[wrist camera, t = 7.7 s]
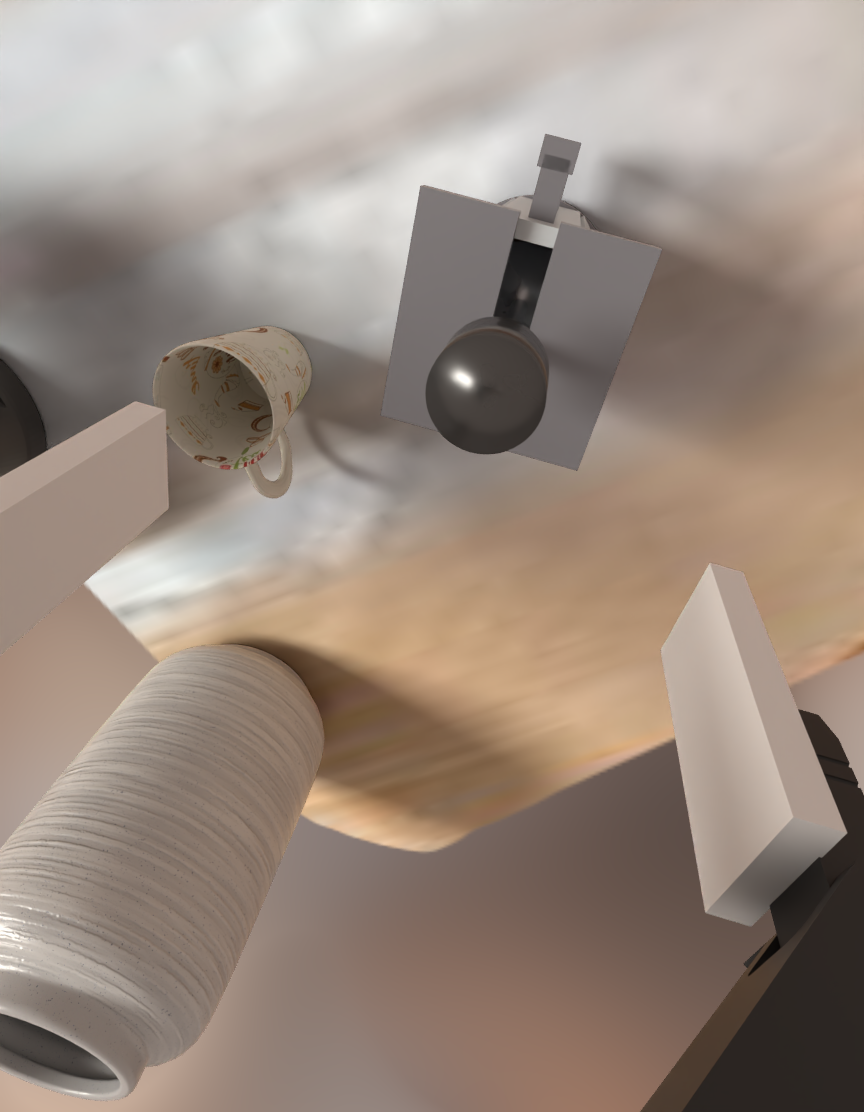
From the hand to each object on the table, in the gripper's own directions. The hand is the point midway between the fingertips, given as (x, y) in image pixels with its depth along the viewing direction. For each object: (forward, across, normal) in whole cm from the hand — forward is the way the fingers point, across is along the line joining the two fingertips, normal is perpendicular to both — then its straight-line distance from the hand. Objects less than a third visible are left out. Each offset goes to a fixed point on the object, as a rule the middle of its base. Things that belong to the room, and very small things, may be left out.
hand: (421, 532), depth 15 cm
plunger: (+26, 0, 0) cm, 26 cm away
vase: (+33, -17, -47) cm, 60 cm away
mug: (+33, -16, -12) cm, 38 cm away
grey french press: (+33, 0, +2) cm, 33 cm away
